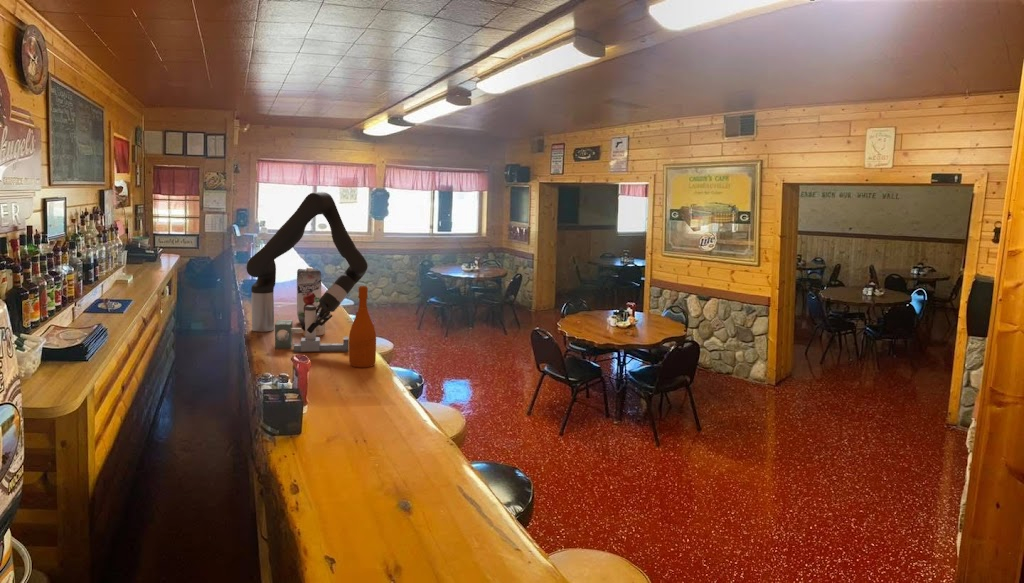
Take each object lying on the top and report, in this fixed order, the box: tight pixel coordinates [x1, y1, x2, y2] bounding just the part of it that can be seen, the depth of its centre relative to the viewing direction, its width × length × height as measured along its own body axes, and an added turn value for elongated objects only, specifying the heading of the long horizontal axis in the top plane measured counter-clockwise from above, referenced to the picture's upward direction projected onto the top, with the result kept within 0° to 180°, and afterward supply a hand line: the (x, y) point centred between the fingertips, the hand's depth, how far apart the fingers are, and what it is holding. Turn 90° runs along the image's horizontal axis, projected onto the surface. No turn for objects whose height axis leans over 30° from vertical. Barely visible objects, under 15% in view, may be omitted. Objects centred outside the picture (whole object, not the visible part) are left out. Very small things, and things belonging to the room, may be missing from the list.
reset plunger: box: [291, 327, 305, 336], centre depth 263 cm, size 3×9×3 cm, turn 104°
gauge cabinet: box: [274, 319, 294, 350], centre depth 262 cm, size 8×6×10 cm
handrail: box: [293, 336, 349, 353], centre depth 259 cm, size 5×21×5 cm, turn 104°
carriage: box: [300, 306, 321, 351], centre depth 256 cm, size 6×7×18 cm
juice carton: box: [296, 266, 322, 326], centre depth 304 cm, size 9×10×27 cm
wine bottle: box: [348, 285, 377, 369], centre depth 239 cm, size 10×10×30 cm
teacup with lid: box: [304, 314, 326, 337], centre depth 284 cm, size 12×9×12 cm
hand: (306, 330), depth 255 cm, fingers closed on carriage, 4 cm apart
